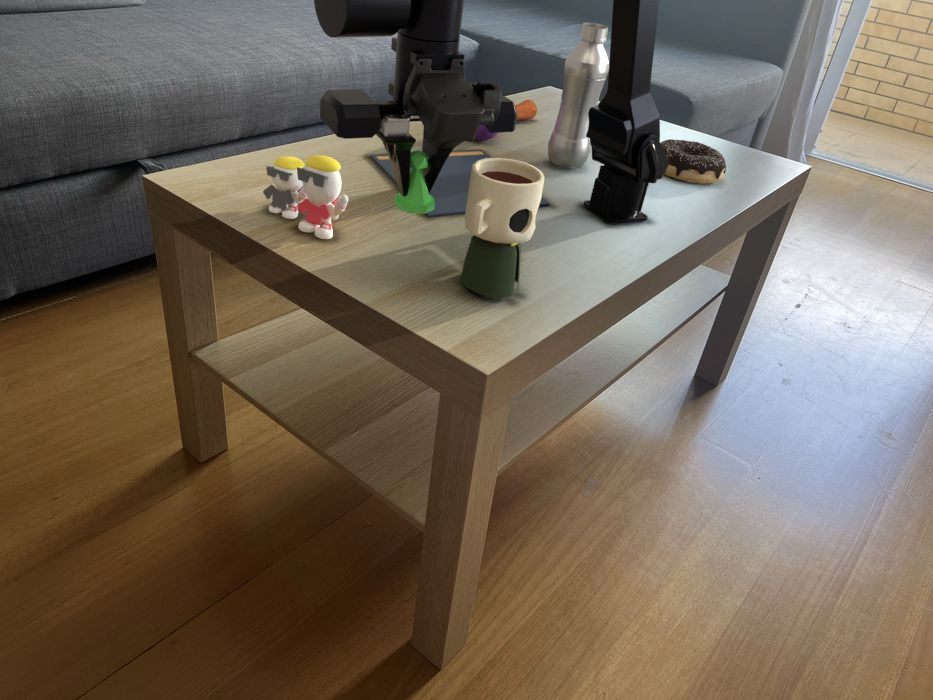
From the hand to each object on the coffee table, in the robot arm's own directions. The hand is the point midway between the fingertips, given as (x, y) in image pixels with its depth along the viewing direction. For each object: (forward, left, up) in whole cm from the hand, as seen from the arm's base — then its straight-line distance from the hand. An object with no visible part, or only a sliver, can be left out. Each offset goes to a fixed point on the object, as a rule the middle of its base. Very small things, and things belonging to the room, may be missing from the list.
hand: (414, 194), depth 75 cm
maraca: (-33, -38, -8) cm, 51 cm away
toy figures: (+8, -11, -8) cm, 16 cm away
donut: (-55, -17, -8) cm, 58 cm away
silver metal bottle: (-36, -23, -8) cm, 43 cm away
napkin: (-16, -20, -8) cm, 27 cm away
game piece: (0, 0, -1) cm, 1 cm away
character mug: (-6, +8, -8) cm, 13 cm away
